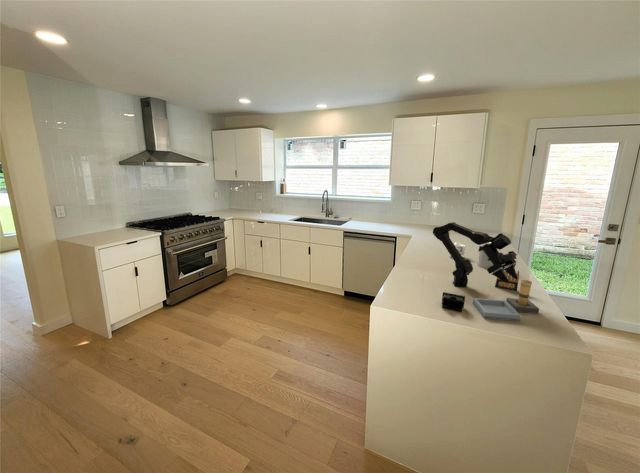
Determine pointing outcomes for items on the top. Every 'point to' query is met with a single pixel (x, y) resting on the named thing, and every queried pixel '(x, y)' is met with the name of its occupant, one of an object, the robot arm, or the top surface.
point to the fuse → (524, 292)
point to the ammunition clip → (509, 287)
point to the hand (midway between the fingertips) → (512, 280)
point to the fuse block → (523, 306)
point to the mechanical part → (460, 248)
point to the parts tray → (496, 309)
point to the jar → (484, 259)
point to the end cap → (453, 302)
